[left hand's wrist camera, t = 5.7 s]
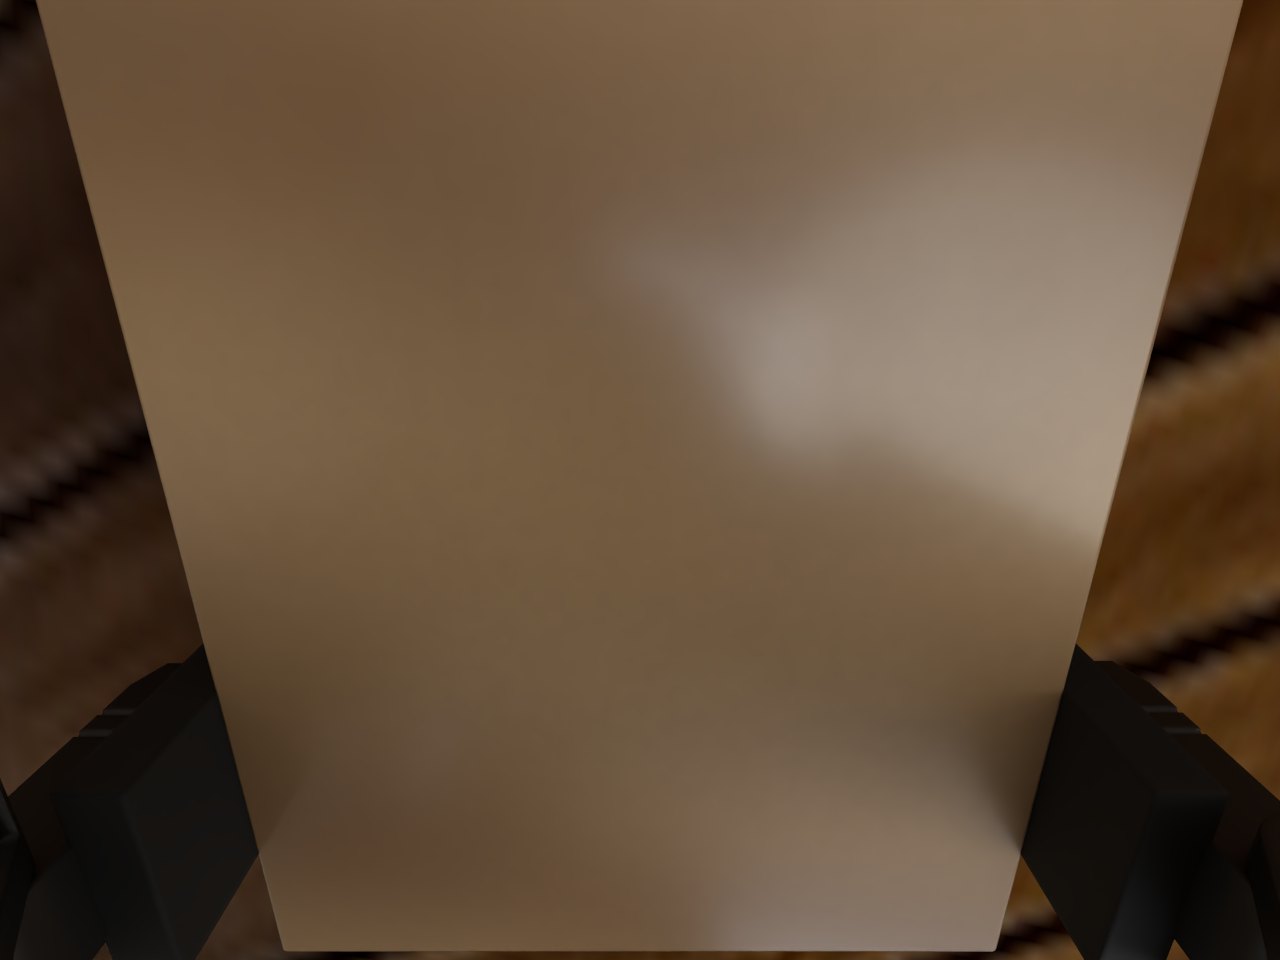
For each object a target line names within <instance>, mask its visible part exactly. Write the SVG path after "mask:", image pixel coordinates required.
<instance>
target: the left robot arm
mask: <svg viewBox="0 0 1280 960" xmlns="http://www.w3.org/2000/svg"><path fill="white" fill-rule="evenodd" d="M1021 855H1022V857H1023V858H1024V860H1025V862H1026V863H1027V865H1028V867H1029V868H1030V870H1031V872H1032V873H1033V875H1034V877H1035V878H1036V880H1037V882H1038V883H1039V885H1040V887H1041V888H1042V890H1043V892H1044V893H1045V895H1046V897H1047V898H1048V900H1049V902H1050V903H1051V905H1052V907H1053V908H1054V910H1055V912H1056V913H1057V915H1058V917H1059V918H1060V920H1061V922H1062V923H1063V925H1064V927H1065V928H1066V930H1067V932H1068V933H1069V935H1070V937H1071V938H1072V940H1073V942H1074V943H1075V945H1076V947H1077V948H1078V950H1079V952H1080V953H1081V955H1082V957H1083V958H1084V960H1166V959H1167V956H1168V954H1169V951H1170V948H1171V946H1172V943H1173V941H1174V939H1175V940H1176V942H1177V943H1178V944H1179V946H1180V947H1181V948H1182V950H1183V951H1184V952H1185V954H1186V955H1187V956H1188V958H1189V959H1190V960H1280V801H1279V800H1278V799H1277V798H1276V797H1275V796H1274V795H1273V794H1272V793H1270V792H1269V791H1268V790H1267V789H1266V788H1265V787H1264V786H1263V785H1262V784H1261V783H1259V782H1258V781H1257V780H1256V779H1255V778H1254V777H1253V776H1252V775H1251V774H1250V773H1248V772H1247V771H1246V770H1245V769H1244V768H1243V767H1242V766H1241V765H1240V764H1238V763H1237V762H1236V761H1235V760H1234V759H1233V758H1232V757H1231V756H1230V755H1229V754H1227V753H1226V752H1225V751H1224V750H1223V749H1222V748H1221V747H1220V746H1219V745H1218V744H1216V743H1215V742H1214V741H1213V740H1212V739H1211V738H1210V737H1209V736H1208V735H1207V734H1201V732H1200V728H1199V727H1198V726H1197V725H1195V724H1194V723H1193V722H1192V721H1191V720H1190V719H1189V718H1188V717H1187V716H1186V715H1184V714H1183V713H1178V712H1177V707H1176V706H1175V705H1173V704H1172V703H1171V702H1170V701H1169V700H1168V699H1167V698H1166V697H1165V696H1164V695H1162V694H1161V693H1160V692H1159V691H1158V690H1157V689H1156V688H1155V687H1154V686H1152V685H1151V684H1150V683H1149V682H1147V681H1146V680H1144V679H1142V678H1141V677H1139V676H1137V675H1135V674H1134V673H1132V672H1130V671H1128V670H1127V669H1125V668H1123V667H1121V666H1120V665H1118V664H1116V663H1114V662H1113V661H1093V660H1092V659H1091V658H1090V657H1089V656H1088V655H1087V654H1086V653H1085V652H1084V651H1083V650H1082V649H1081V648H1080V647H1079V646H1078V645H1077V644H1075V647H1074V651H1073V655H1072V659H1071V663H1070V667H1069V670H1068V674H1067V678H1066V682H1065V686H1064V690H1063V693H1062V697H1061V701H1060V705H1059V709H1058V713H1057V716H1056V720H1055V724H1054V728H1053V732H1052V736H1051V739H1050V743H1049V747H1048V751H1047V755H1046V759H1045V762H1044V766H1043V770H1042V774H1041V778H1040V782H1039V786H1038V789H1037V793H1036V797H1035V801H1034V805H1033V809H1032V812H1031V816H1030V820H1029V824H1028V828H1027V832H1026V835H1025V839H1024V843H1023V847H1022V851H1021ZM257 856H258V850H257V846H256V842H255V838H254V835H253V831H252V827H251V823H250V819H249V815H248V812H247V808H246V804H245V800H244V796H243V792H242V789H241V785H240V781H239V777H238V773H237V769H236V766H235V762H234V758H233V754H232V750H231V746H230V743H229V739H228V735H227V731H226V727H225V723H224V720H223V716H222V712H221V708H220V704H219V700H218V697H217V693H216V689H215V685H214V681H213V677H212V674H211V670H210V666H209V662H208V658H207V654H206V651H205V647H204V643H203V644H202V645H201V646H200V647H199V648H198V649H197V650H196V651H195V652H194V653H193V654H192V655H191V656H190V657H189V658H188V659H187V660H186V661H185V662H184V663H168V664H166V665H164V666H163V667H161V668H159V669H157V670H156V671H154V672H152V673H151V674H149V675H147V676H145V677H144V678H142V679H140V680H138V681H137V682H135V683H133V684H132V685H130V686H129V687H128V688H127V689H126V690H125V691H124V692H122V693H121V694H120V695H119V696H118V697H117V698H116V699H115V700H114V701H113V702H111V703H110V704H109V705H108V706H107V707H106V708H105V709H104V710H103V714H102V715H97V716H96V717H95V718H94V719H93V720H92V721H91V722H90V723H88V724H87V725H86V726H85V727H84V728H83V729H82V730H81V731H80V734H79V736H78V737H73V738H72V739H71V740H70V741H69V742H68V743H67V744H65V745H64V746H63V747H62V748H61V749H60V750H59V751H58V752H57V753H56V754H55V755H53V756H52V757H51V758H50V759H49V760H48V761H47V762H46V763H45V764H44V765H42V766H41V767H40V768H39V769H38V770H37V771H36V772H35V773H34V774H33V775H31V776H30V777H29V778H28V779H27V780H26V781H25V782H24V783H23V784H22V785H21V786H19V787H18V788H17V789H16V790H15V791H14V792H13V793H12V794H11V795H10V796H7V794H6V791H5V789H4V787H3V784H2V782H1V779H0V960H92V959H93V958H94V957H95V955H96V954H97V952H98V951H99V950H100V948H101V947H102V946H103V944H104V943H105V942H106V943H107V946H108V949H109V951H110V954H111V956H112V959H113V960H195V959H196V957H197V955H198V954H199V952H200V950H201V949H202V947H203V945H204V944H205V942H206V940H207V939H208V937H209V935H210V934H211V932H212V930H213V929H214V927H215V925H216V924H217V922H218V920H219V919H220V917H221V915H222V914H223V912H224V911H225V909H226V907H227V906H228V904H229V902H230V901H231V899H232V897H233V896H234V894H235V892H236V891H237V889H238V887H239V886H240V884H241V882H242V881H243V879H244V877H245V876H246V874H247V872H248V871H249V869H250V867H251V866H252V864H253V862H254V861H255V859H256V857H257Z"/></svg>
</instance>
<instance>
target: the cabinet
mask: <svg viewBox="0 0 1280 960" xmlns="http://www.w3.org/2000/svg"><path fill="white" fill-rule="evenodd" d="M36 3H37V7H38V10H39V14H40V18H41V22H42V26H43V30H44V33H45V37H46V41H47V45H48V49H49V53H50V56H51V60H52V64H53V68H54V72H55V76H56V79H57V83H58V87H59V91H60V95H61V99H62V102H63V106H64V110H65V114H66V118H67V122H68V125H69V129H70V133H71V137H72V141H73V145H74V148H75V152H76V156H77V160H78V164H79V168H80V171H81V175H82V179H83V183H84V187H85V191H86V194H87V198H88V202H89V206H90V210H91V214H92V217H93V221H94V225H95V229H96V233H97V237H98V240H99V244H100V248H101V252H102V256H103V260H104V263H105V267H106V271H107V275H108V279H109V283H110V286H111V290H112V294H113V298H114V302H115V306H116V309H117V313H118V317H119V321H120V325H121V329H122V332H123V336H124V340H125V344H126V348H127V352H128V355H129V359H130V363H131V367H132V371H133V375H134V378H135V382H136V386H137V390H138V394H139V398H140V401H141V405H142V409H143V413H144V417H145V421H146V424H147V428H148V432H149V436H150V440H151V444H152V447H153V451H154V455H155V459H156V463H157V467H158V470H159V474H160V478H161V482H162V486H163V490H164V493H165V497H166V501H167V505H168V509H169V513H170V516H171V520H172V524H173V528H174V532H175V536H176V539H177V543H178V547H179V551H180V555H181V559H182V562H183V566H184V570H185V574H186V578H187V582H188V585H189V589H190V593H191V597H192V601H193V605H194V608H195V612H196V616H197V620H198V624H199V628H200V631H201V635H202V639H203V643H204V647H205V651H206V654H207V658H208V662H209V666H210V670H211V674H212V677H213V681H214V685H215V689H216V693H217V697H218V700H219V704H220V708H221V712H222V716H223V720H224V723H225V727H226V731H227V735H228V739H229V743H230V746H231V750H232V754H233V758H234V762H235V766H236V769H237V773H238V777H239V781H240V785H241V789H242V792H243V796H244V800H245V804H246V808H247V812H248V815H249V819H250V823H251V827H252V831H253V835H254V838H255V842H256V846H257V850H258V854H259V858H260V861H261V865H262V869H263V873H264V877H265V881H266V884H267V888H268V892H269V896H270V900H271V904H272V907H273V911H274V915H275V919H276V923H277V927H278V930H279V934H280V938H281V942H282V946H283V949H284V950H285V951H995V950H996V947H997V943H998V939H999V935H1000V931H1001V928H1002V924H1003V920H1004V916H1005V912H1006V908H1007V904H1008V901H1009V897H1010V893H1011V889H1012V885H1013V881H1014V878H1015V874H1016V870H1017V866H1018V862H1019V858H1020V855H1021V851H1022V847H1023V843H1024V839H1025V835H1026V832H1027V828H1028V824H1029V820H1030V816H1031V812H1032V809H1033V805H1034V801H1035V797H1036V793H1037V789H1038V786H1039V782H1040V778H1041V774H1042V770H1043V766H1044V762H1045V759H1046V755H1047V751H1048V747H1049V743H1050V739H1051V736H1052V732H1053V728H1054V724H1055V720H1056V716H1057V713H1058V709H1059V705H1060V701H1061V697H1062V693H1063V690H1064V686H1065V682H1066V678H1067V674H1068V670H1069V667H1070V663H1071V659H1072V655H1073V651H1074V647H1075V644H1076V640H1077V636H1078V632H1079V628H1080V624H1081V620H1082V617H1083V613H1084V609H1085V605H1086V601H1087V597H1088V594H1089V590H1090V586H1091V582H1092V578H1093V574H1094V571H1095V567H1096V563H1097V559H1098V555H1099V551H1100V548H1101V544H1102V540H1103V536H1104V532H1105V528H1106V525H1107V521H1108V517H1109V513H1110V509H1111V505H1112V502H1113V498H1114V494H1115V490H1116V486H1117V482H1118V478H1119V475H1120V471H1121V467H1122V463H1123V459H1124V455H1125V452H1126V448H1127V444H1128V440H1129V436H1130V432H1131V429H1132V425H1133V421H1134V417H1135V413H1136V409H1137V406H1138V402H1139V398H1140V394H1141V390H1142V386H1143V383H1144V379H1145V375H1146V371H1147V367H1148V363H1149V360H1150V356H1151V352H1152V348H1153V344H1154V340H1155V336H1156V333H1157V329H1158V325H1159V321H1160V317H1161V313H1162V310H1163V306H1164V302H1165V298H1166V294H1167V290H1168V287H1169V283H1170V279H1171V275H1172V271H1173V267H1174V264H1175V260H1176V256H1177V252H1178V248H1179V244H1180V241H1181V237H1182V233H1183V229H1184V225H1185V221H1186V218H1187V214H1188V210H1189V206H1190V202H1191V198H1192V194H1193V191H1194V187H1195V183H1196V179H1197V175H1198V171H1199V168H1200V164H1201V160H1202V156H1203V152H1204V148H1205V145H1206V141H1207V137H1208V133H1209V129H1210V125H1211V122H1212V118H1213V114H1214V110H1215V106H1216V102H1217V99H1218V95H1219V91H1220V87H1221V83H1222V79H1223V76H1224V72H1225V68H1226V64H1227V60H1228V56H1229V52H1230V49H1231V45H1232V41H1233V37H1234V33H1235V29H1236V26H1237V22H1238V18H1239V14H1240V10H1241V6H1242V3H1243V0H36Z"/></svg>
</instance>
